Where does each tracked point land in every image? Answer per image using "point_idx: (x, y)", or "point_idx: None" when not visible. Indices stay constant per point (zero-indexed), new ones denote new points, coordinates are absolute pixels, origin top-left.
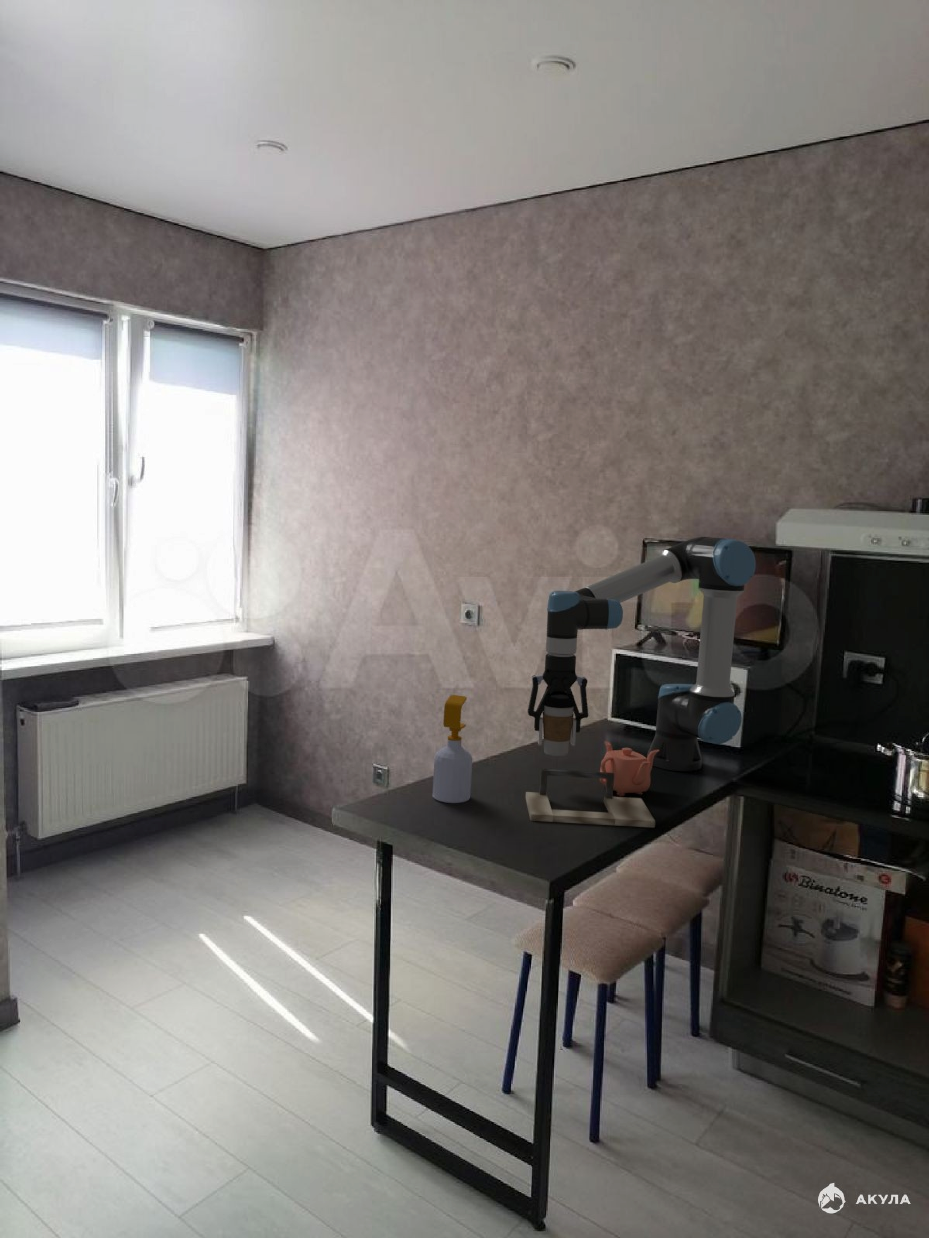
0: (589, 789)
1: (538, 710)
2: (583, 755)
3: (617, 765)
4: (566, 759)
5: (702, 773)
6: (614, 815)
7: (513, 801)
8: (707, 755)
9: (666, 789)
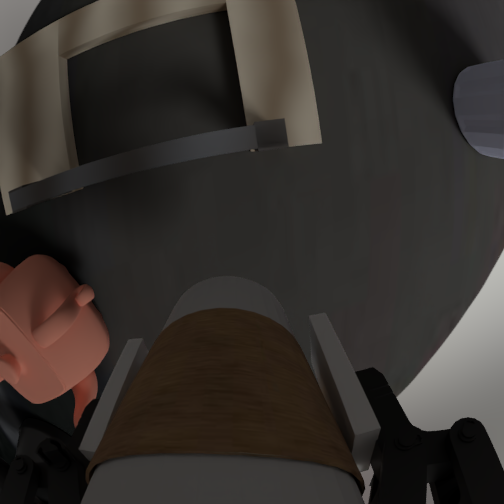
0: (133, 291)
1: (422, 483)
2: None
3: (23, 303)
4: None
5: (14, 411)
6: (56, 41)
7: (349, 100)
8: None
9: None
